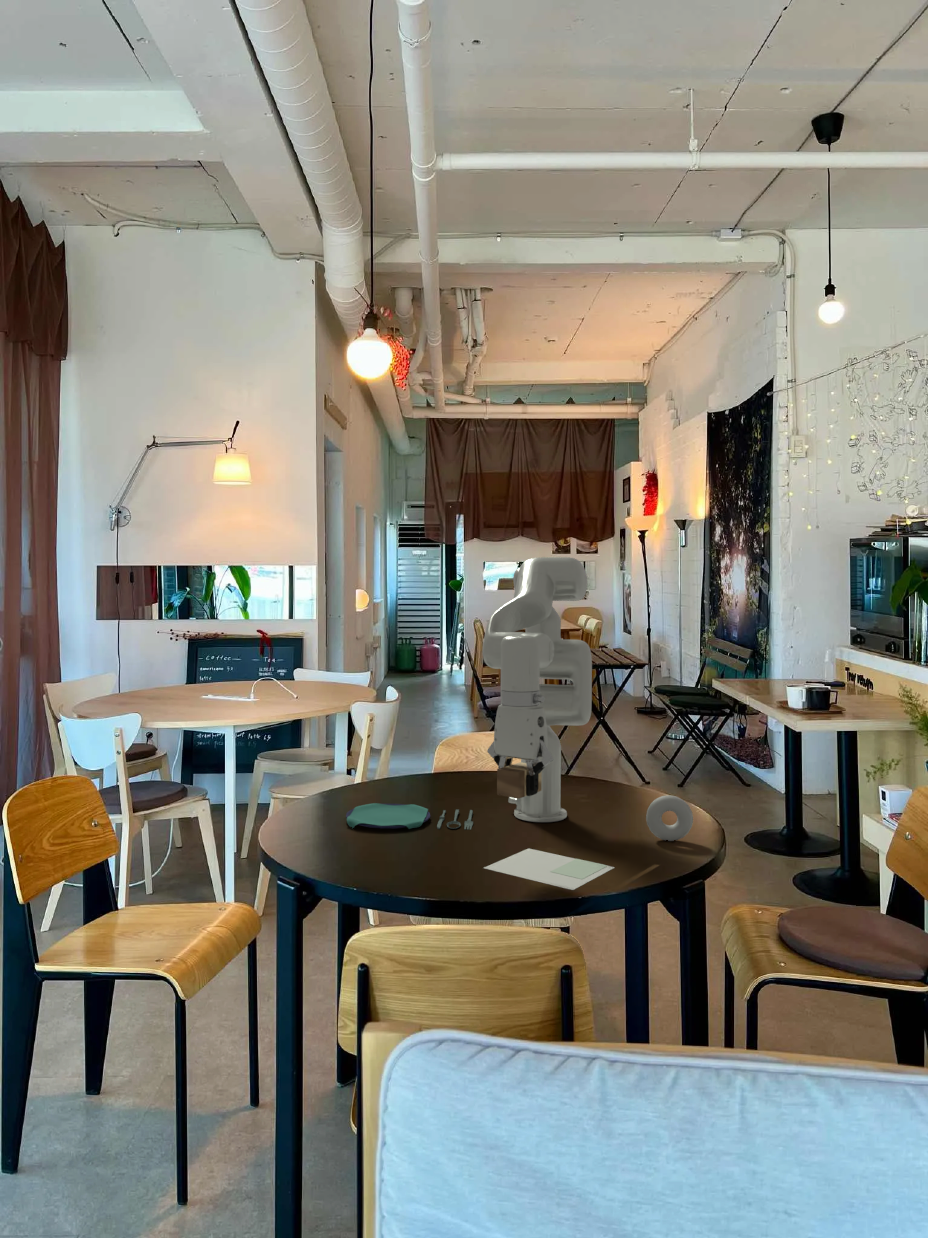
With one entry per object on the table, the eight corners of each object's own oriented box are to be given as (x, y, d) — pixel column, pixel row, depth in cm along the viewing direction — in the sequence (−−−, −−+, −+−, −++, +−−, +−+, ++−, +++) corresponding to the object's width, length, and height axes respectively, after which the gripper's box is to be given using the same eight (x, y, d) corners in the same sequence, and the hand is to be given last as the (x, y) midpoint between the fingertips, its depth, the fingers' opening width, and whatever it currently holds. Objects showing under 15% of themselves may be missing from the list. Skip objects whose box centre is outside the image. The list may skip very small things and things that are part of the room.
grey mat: (483, 871, 171) (483, 867, 171) (528, 851, 184) (528, 848, 184) (572, 893, 159) (572, 889, 159) (614, 870, 172) (614, 867, 172)
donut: (645, 842, 191) (646, 796, 190) (645, 837, 194) (645, 792, 194) (693, 844, 189) (694, 798, 188) (692, 840, 192) (692, 794, 192)
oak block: (520, 787, 176) (520, 762, 176) (541, 790, 173) (541, 765, 173) (497, 794, 170) (497, 769, 170) (518, 798, 167) (518, 772, 166)
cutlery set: (354, 809, 218) (354, 800, 218) (475, 814, 216) (475, 805, 216) (337, 833, 198) (337, 823, 198) (470, 838, 196) (471, 828, 196)
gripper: (568, 701, 168) (567, 795, 169) (495, 693, 179) (494, 783, 180) (547, 705, 162) (546, 803, 163) (473, 697, 173) (472, 789, 174)
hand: (519, 791), depth 171 cm, fingers closed on oak block, 5 cm apart
